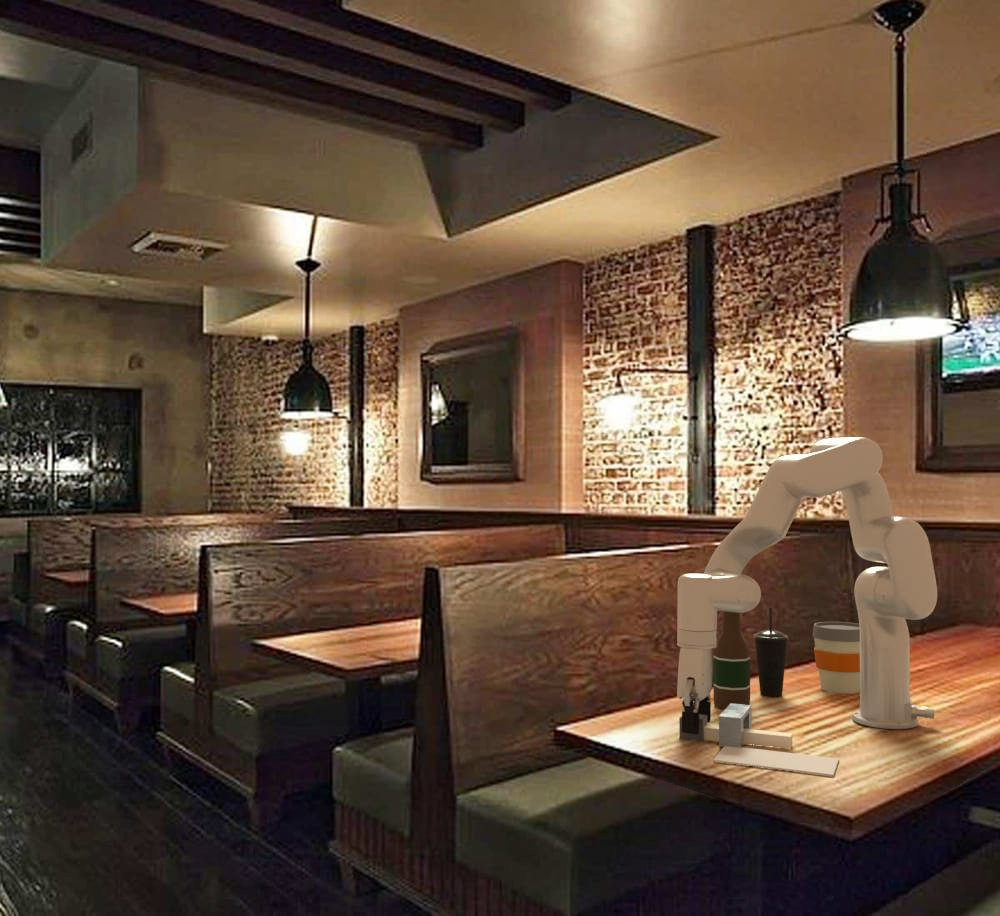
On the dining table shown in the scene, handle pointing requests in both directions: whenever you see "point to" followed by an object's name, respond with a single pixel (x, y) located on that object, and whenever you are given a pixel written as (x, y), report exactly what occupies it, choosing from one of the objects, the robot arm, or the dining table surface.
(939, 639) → the dining table surface
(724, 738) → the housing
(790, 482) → the robot arm
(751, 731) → the cream rectangular bar
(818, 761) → the mat
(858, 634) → the reusable coffee cup
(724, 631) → the beer bottle
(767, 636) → the drinking cup
